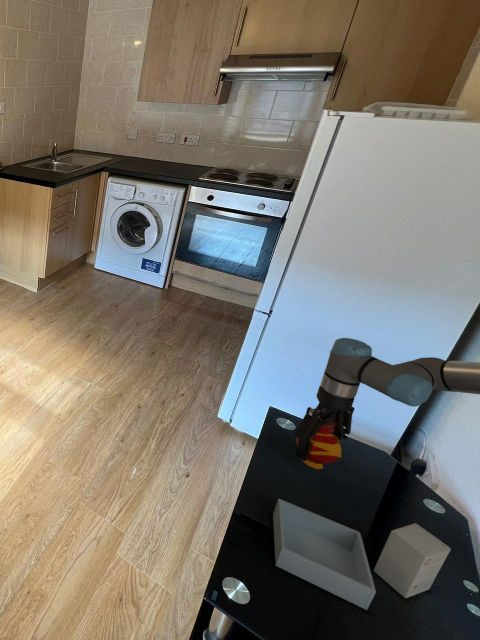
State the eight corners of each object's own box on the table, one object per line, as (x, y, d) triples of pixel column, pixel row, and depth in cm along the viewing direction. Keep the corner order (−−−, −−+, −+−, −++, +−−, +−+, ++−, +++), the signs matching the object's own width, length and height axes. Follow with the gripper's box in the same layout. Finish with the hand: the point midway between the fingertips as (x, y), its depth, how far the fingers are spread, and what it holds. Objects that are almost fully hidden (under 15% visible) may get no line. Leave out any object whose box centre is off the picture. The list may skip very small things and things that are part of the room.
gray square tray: (352, 549, 100) (360, 532, 98) (367, 610, 87) (376, 592, 86) (272, 514, 109) (278, 498, 107) (275, 565, 96) (281, 548, 94)
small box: (396, 562, 97) (415, 522, 93) (430, 590, 92) (452, 548, 88) (371, 570, 96) (390, 529, 91) (405, 599, 90) (427, 557, 86)
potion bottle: (301, 472, 117) (316, 429, 112) (284, 446, 126) (296, 406, 122) (344, 479, 114) (360, 436, 110) (323, 452, 124) (337, 412, 119)
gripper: (354, 379, 118) (332, 441, 125) (291, 386, 114) (272, 450, 121) (383, 395, 111) (359, 459, 118) (317, 403, 107) (295, 470, 114)
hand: (315, 455), depth 119 cm, fingers closed on potion bottle, 10 cm apart
